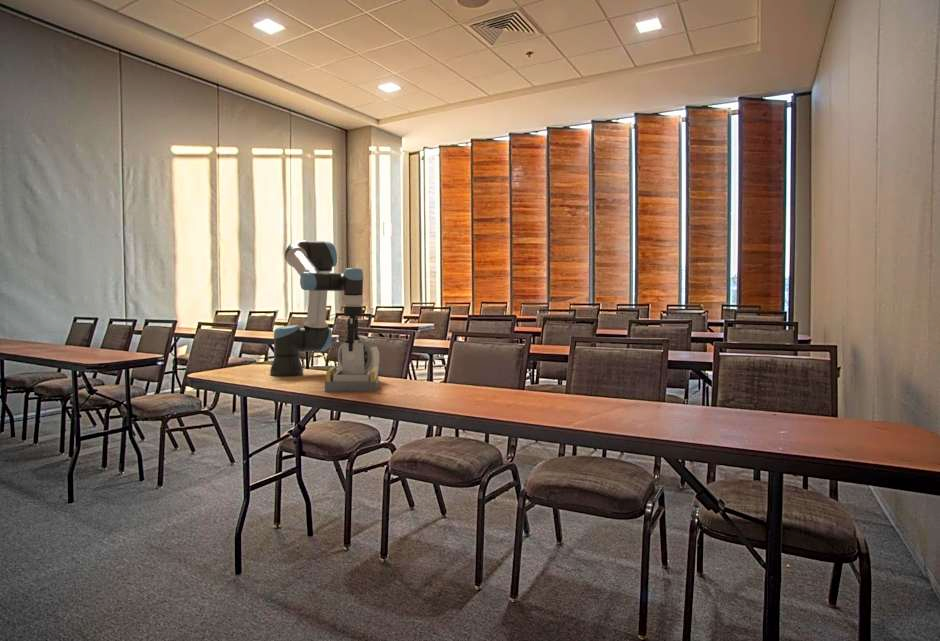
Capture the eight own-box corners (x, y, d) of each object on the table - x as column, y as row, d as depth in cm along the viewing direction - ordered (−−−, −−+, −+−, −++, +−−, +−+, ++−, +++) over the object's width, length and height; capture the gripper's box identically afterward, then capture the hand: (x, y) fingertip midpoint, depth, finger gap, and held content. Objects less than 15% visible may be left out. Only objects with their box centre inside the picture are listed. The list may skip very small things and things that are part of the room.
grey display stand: (330, 388, 242) (331, 366, 241) (378, 388, 244) (378, 366, 243) (324, 394, 226) (325, 371, 225) (375, 394, 228) (376, 371, 227)
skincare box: (364, 379, 234) (365, 343, 233) (352, 380, 230) (352, 343, 229) (353, 376, 240) (353, 341, 239) (341, 378, 236) (341, 342, 235)
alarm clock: (336, 380, 257) (336, 335, 256) (345, 377, 265) (345, 334, 264) (372, 382, 252) (372, 336, 251) (380, 379, 260) (381, 335, 259)
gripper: (347, 304, 245) (347, 353, 247) (339, 306, 221) (339, 361, 222) (365, 305, 246) (364, 354, 247) (359, 307, 221) (358, 361, 222)
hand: (352, 357), depth 234 cm, fingers open, 13 cm apart
